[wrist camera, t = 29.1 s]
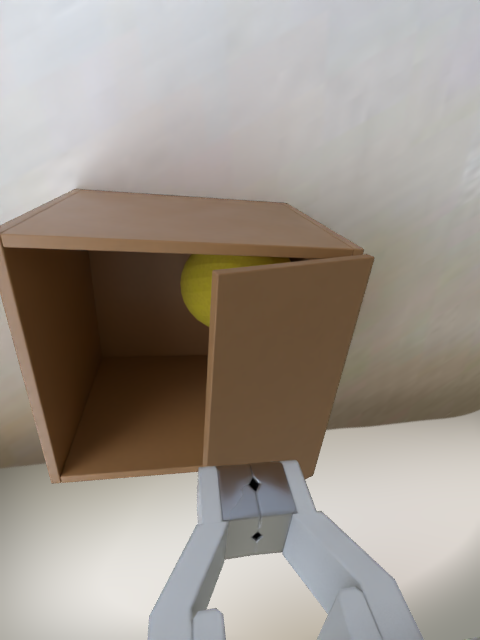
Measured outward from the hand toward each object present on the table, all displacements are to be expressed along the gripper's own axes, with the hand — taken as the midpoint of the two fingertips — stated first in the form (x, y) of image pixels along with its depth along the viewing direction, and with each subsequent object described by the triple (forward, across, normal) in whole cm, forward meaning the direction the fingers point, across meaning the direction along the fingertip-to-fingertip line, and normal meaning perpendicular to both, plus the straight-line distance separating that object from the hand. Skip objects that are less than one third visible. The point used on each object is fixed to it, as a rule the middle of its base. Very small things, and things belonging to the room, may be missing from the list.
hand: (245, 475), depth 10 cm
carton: (+15, +2, 0) cm, 15 cm away
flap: (+3, -2, 0) cm, 4 cm away
